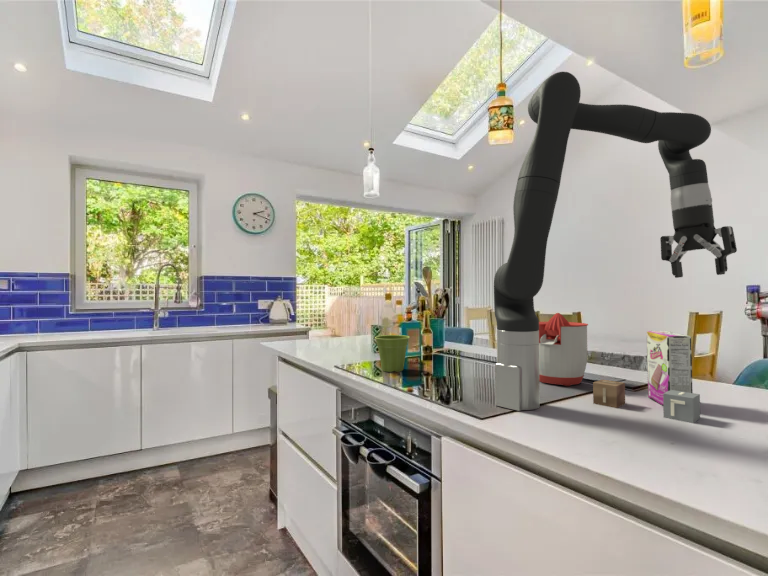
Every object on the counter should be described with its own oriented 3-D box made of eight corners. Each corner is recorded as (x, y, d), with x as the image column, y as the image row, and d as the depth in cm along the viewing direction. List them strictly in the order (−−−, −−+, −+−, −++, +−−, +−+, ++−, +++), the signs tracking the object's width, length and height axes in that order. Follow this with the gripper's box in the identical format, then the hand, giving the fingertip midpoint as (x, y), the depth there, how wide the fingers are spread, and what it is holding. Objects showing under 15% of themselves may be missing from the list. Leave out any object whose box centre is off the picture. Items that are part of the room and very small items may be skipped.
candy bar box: (646, 397, 100) (645, 330, 100) (669, 398, 99) (668, 330, 99) (668, 410, 89) (667, 335, 89) (694, 411, 88) (693, 335, 88)
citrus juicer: (519, 383, 116) (518, 313, 116) (541, 374, 129) (540, 311, 129) (578, 392, 106) (577, 314, 106) (595, 381, 119) (594, 312, 119)
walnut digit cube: (616, 408, 91) (615, 385, 91) (593, 404, 95) (592, 381, 95) (625, 404, 94) (624, 382, 94) (602, 400, 98) (602, 378, 98)
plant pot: (380, 366, 144) (379, 334, 144) (413, 368, 141) (412, 335, 141) (370, 372, 132) (370, 338, 133) (405, 374, 129) (405, 339, 129)
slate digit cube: (693, 423, 80) (692, 397, 80) (663, 418, 84) (663, 393, 84) (700, 418, 83) (699, 393, 83) (671, 413, 87) (670, 389, 87)
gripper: (650, 213, 99) (657, 279, 99) (719, 198, 86) (728, 274, 86) (667, 213, 103) (675, 277, 102) (736, 199, 90) (745, 272, 90)
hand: (699, 276), depth 94 cm, fingers open, 8 cm apart
